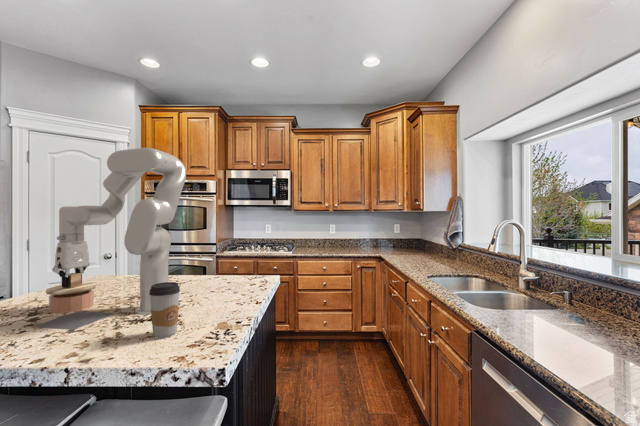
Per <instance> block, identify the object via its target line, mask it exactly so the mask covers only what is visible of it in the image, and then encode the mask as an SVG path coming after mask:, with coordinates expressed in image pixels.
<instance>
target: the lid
mask: <svg viewBox="0 0 640 426" xmlns="http://www.w3.org/2000/svg"><path fill="white" fill-rule="evenodd" d="M68 277H70V287H68V288H67V287H62V284H61V285H56V286H53V287H49V288H47V289H45V294H46V295H49V296H50V295H61V294H71V293H78V292H84V291H88V290H94V289H96V287H97V284H96V283H94V282H82V284H81V273H75V272H72V273H70V272H69V276H68Z"/></svg>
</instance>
